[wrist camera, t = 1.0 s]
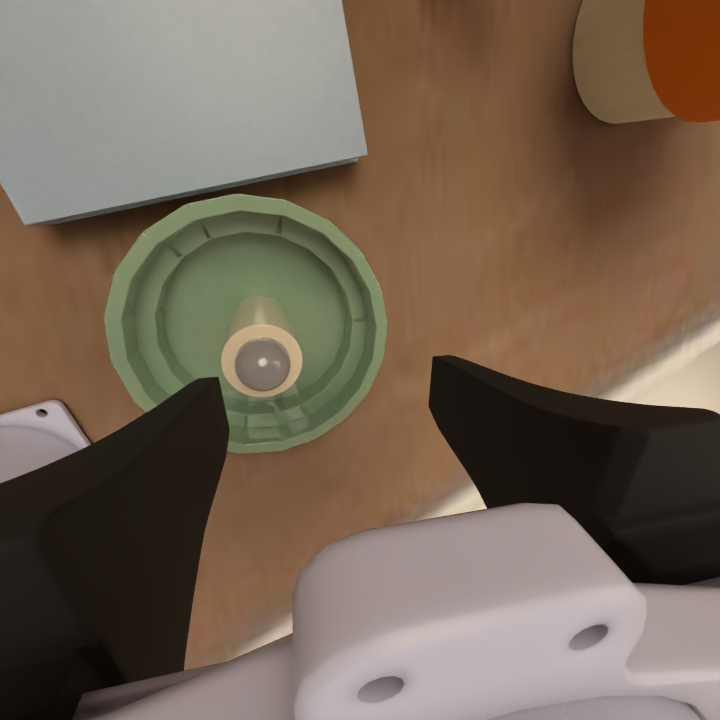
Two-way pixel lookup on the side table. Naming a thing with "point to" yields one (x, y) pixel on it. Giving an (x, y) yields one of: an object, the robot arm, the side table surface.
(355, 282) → the bowl
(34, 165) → the book
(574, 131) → the side table surface
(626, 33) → the reusable coffee cup
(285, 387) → the shaker
